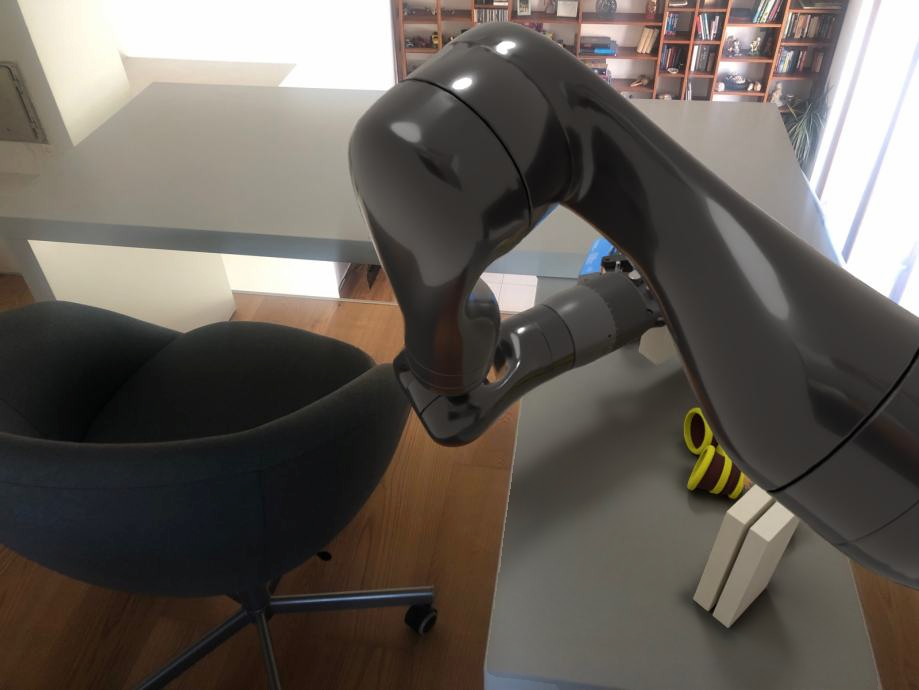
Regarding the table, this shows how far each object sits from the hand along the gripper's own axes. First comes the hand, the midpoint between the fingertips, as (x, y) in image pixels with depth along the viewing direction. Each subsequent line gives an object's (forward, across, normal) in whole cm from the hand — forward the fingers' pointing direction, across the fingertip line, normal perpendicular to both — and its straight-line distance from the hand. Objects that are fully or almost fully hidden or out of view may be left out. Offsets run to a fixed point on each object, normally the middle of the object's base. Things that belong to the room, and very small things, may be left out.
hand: (707, 265), depth 75 cm
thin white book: (-3, 0, +10) cm, 10 cm away
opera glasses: (-9, -13, +15) cm, 22 cm away
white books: (-19, -23, +15) cm, 34 cm away
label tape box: (-2, +14, +15) cm, 21 cm away
